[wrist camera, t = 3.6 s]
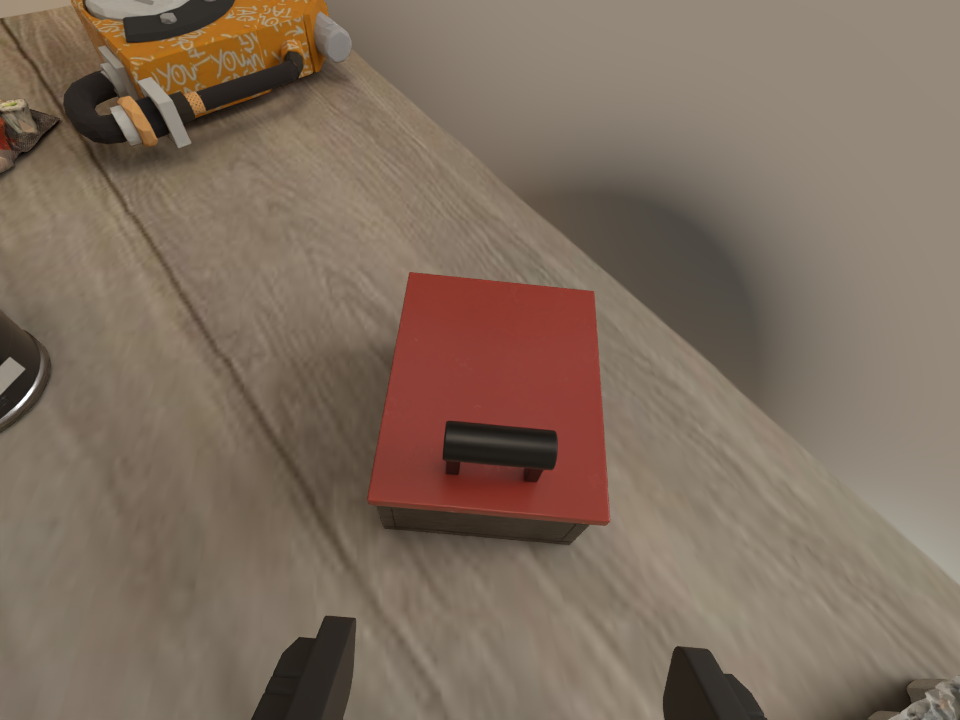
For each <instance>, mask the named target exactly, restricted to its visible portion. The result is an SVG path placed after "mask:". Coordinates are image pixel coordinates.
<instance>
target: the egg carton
mask: <svg viewBox="0 0 960 720" xmlns="http://www.w3.org/2000/svg"><path fill="white" fill-rule="evenodd" d="M907 692H908V694H909V696H910V699H911V705H910V706H909V707H907V708H906V709H905V710H903V711H902V712H891V711H877V712H875V713H873V714H872V715H871V716H870V717H869V718H868V720H960V675H958V676H956V677H954V678H951V679H949V680H947V679H935V680H934V679H916V680H914V681H913V682H911V683H910V684H909V685H908V686H907Z"/></svg>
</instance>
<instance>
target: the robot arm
mask: <svg viewBox="0 0 960 720" xmlns="http://www.w3.org/2000/svg"><path fill="white" fill-rule="evenodd" d="M49 375H50V358H49V355H48V353H47V351H46V349H45V347H44V346H43V345H42V344H41V343H40V342H39V341H38V340H37V339H35V338H34V337H33V336H32V335H31V334H30V333H28V332H27V331H25V330H23V329H21V328H20V327H19V326H18V325H17V324H15V323H14V322H13V321H12V320H11V319H10V318H9V317H7V316H6V315H5V314H4V313H3V312H2V311H1V310H0V432H1V431H3V430H5V429H6V428H8V427H9V426H11V425H12V424H13V423H15V422H16V421H17V420H18V419H20V418H21V417H22V416H23V415H24V414H25V413H26V412H27V411H28V410H29V409H30V408H31V407H32V406H33V405H34V404H35V402H36V401H37V400H38V399H39V397H40V396H41V394H42V392H43V391H44V389H45V387H46V384H47V382H48V379H49ZM355 634H356V618H349V617H338V616H325V617H324V619H323V622H322V624H321V627H320V629H319V632H318V634H317V636H316V638H304V637H299V638H298V639H297V640H296V641H295V642H294V643H293V644H292V645H291V646H290V647H288V648H287V649H286V650H285V651H284V652H283V653H282V655H281V658H280V660H279V662H278V664H277V666H276V668H275V670H274V672H273V676H272V677H271V679H270V681H269V683H268V685H267V687H266V690H265V693H264V694H263V696H262V698H261V700H260V702H259V704H258V706H257V708H256V711H255V713H254V715H253V717H252V719H251V720H343V716H344V713H345V709H346V705H347V702H348V698H349V694H350V689H351V683H352V677H353V667H354V650H355ZM663 712H664V718H665V720H767V718H765V717H764V713H763V711H762V710H761V708H760V707H759V705H758V703H757V702H756V700H755V698H754V697H753V695H752V694H751V692H750V691H749V690H748V689H747V688H746V687H744V686H743V685H742V684H741V683H740V682H739V681H738V680H737V679H736V678H735V677H734V676H733V675H732V674H723V672H722V670H721V668H720V667H719V665H718V663H717V662H716V660H715V658H714V656H713V655H712V653H711V652H710V651H709V650H708V649H703V648H691V647H680V646H678V647H676V648H675V649H674V651H673V655H672V659H671V664H670V668H669V673H668V677H667V682H666V686H665V691H664V696H663Z"/></svg>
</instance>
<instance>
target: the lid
mask: <svg viewBox="0 0 960 720" xmlns="http://www.w3.org/2000/svg"><path fill="white" fill-rule="evenodd" d="M367 501H368V504H369V505H377V506H388V507H400V508H411V509H422V510H433V511H445V512H456V513H467V514H478V515H490V516H501V517H512V518H523V519H535V520H546V521H557V522H568V523H579V524H591V525H602V526H606V525H607V524H608V523H609V522H610V511H609V497H608V482H607V468H606V453H605V439H604V425H603V410H602V396H601V381H600V367H599V352H598V338H597V324H596V309H595V295H594V291H587V290H577V289H567V288H558V287H548V286H538V285H529V284H519V283H509V282H500V281H490V280H481V279H471V278H461V277H452V276H442V275H432V274H423V273H413V272H410V273H409V277H408V282H407V288H406V293H405V298H404V304H403V309H402V314H401V320H400V325H399V330H398V336H397V341H396V347H395V352H394V357H393V363H392V368H391V373H390V379H389V384H388V389H387V395H386V400H385V406H384V411H383V416H382V422H381V427H380V432H379V438H378V443H377V449H376V454H375V459H374V465H373V470H372V475H371V481H370V486H369V491H368V497H367Z"/></svg>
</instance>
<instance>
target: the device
mask: <svg viewBox="0 0 960 720" xmlns="http://www.w3.org/2000/svg"><path fill="white" fill-rule="evenodd" d="M71 3H72V5H73V7H74V9H75V10H76V12H77V14H78V16H79V18H80V20H81V22H82V24H83V26H84V28H85V29H86V31H87V33H88V35H89V37H90V39H91V41H92V43H93V45H94V46H95V48H96V50H97V52H98V54H99V56H100V58H101V59H102V61H103V62H104V63H103V64H100V67H101V69H102V71H98V72H94V73H92V74H89V75H87V76H85V77H83V78H81V79H79V80H77V81H76V82H74V83H72V84H71V86H70V87H69V88H68V90H67V91H66V93H65V94H64V103H63V105H64V109H65V112H66V115H67V117H68V118H69V120H70V121H71V123H72V124H73V126H74V127H75V129H76V130H77V131H78V132H79V133H81V134H82V135H84V136H85V137H87V138H89V139H90V140H92V141H93V142H98V143H103V144H113V143H123V142H126V141H128V142H129V144H130V146H134V145H138V144H141V143H142V144H143V145H144V146H146V147H151V146H155V145H157V141H158V140H157V138H159V137H162V136H164V135H168V136H169V138H170V139H171V140H172V141H173V142H174V143H175V144H176V146H177V147H178V148H180V147H183V146H186V145H189V144H191V141H190V139H189V137H188V135H187V132H186V130H185V128H184V125H183V124H184V123H187V122H190V121H193V120H195V118H197V117H200V116H203V115H206V114H209V113H211V112H214V111H217V110H220V109H223V108H226V107H229V106H232V105H235V104H238V103H240V102H243V101H246V100H249V99H252V98H255V97H258V96H261V95H264V94H267V93H269V92H271V89H273V88H276V87H278V86H281V85H284V84H287V83H290V82H293V81H294V80H295V79H298V78H301V77H304V76H306V75H309V74H312V73H313V71H314V72H318V71H320V70H321V67H322V65H323V62H324V60H325V57H326V58H327V59H328V60H330V61H332V62H335V63H338V62H343V61H344V60H345V59H346V58H347V57H348V55H349V54H350V51H351V45H352V42H351V39H350V37H349V34H348V33H347V32H346V31H345V30H344V29H343V28H342V27H341V26H339V25H337V24H336V23H335V22H334V21H333V20H331V19H330V18H329V14H328V9H327V4H326V3H325V2H324V0H71ZM117 96H118V98H119V100H118V101H117V103H118V106H115V107H111V108H109V109H110V111H111V112H112V114H111V115H105V116H99V115H98V114H97V112H96V111H95V107H96V105H98V104H100V103H101V102H104V101H106V100H108V99H111V98H113V97H117Z"/></svg>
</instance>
